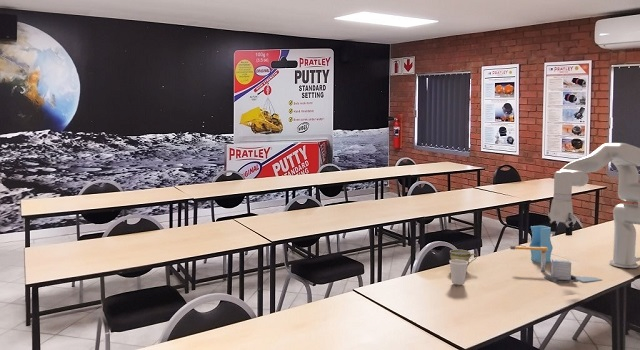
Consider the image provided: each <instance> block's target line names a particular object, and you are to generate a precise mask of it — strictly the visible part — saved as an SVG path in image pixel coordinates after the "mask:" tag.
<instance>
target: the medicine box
mask: <svg viewBox="0 0 640 350" xmlns="http://www.w3.org/2000/svg"><path fill="white" fill-rule="evenodd" d="M550 267H551V269H550V271H551V273H550V276H553V277H556V278H558V281H559V280H561V281H570V280H572V279H571V275H572V262H571V261H570V260H567V259H551V266H550Z"/></svg>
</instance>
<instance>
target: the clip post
mask: <svg viewBox="0 0 640 350" xmlns="http://www.w3.org/2000/svg"><path fill="white" fill-rule="evenodd" d="M545 261H546V251H541V263H540V273H544V274H547V271H546V262H545Z"/></svg>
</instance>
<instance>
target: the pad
mask: <svg viewBox="0 0 640 350" xmlns="http://www.w3.org/2000/svg"><path fill="white" fill-rule="evenodd" d="M575 276H576V275H575ZM576 280H578V281H579V282H581V283H583V284H584V283H593V282H600V281H603V279H601V278H599V277H594V276H583V277H581V276H580V275H577V276H576ZM578 281H577V282H578Z"/></svg>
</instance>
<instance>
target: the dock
mask: <svg viewBox="0 0 640 350" xmlns="http://www.w3.org/2000/svg"><path fill="white" fill-rule="evenodd" d="M544 274H545V276H543V278H544V279H546V280H548V281H550V282H554V283H556V284H563V283H565V284H566V283H574V282H578V280H576V275H573V274H571V280H561V281H559V280H558V278H556V277H553V276H551V274H547V273H544Z"/></svg>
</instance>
